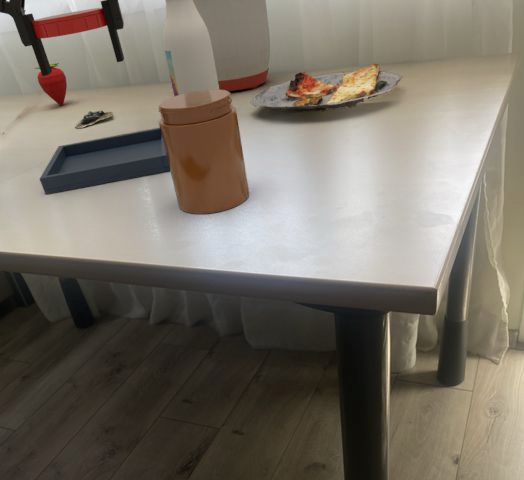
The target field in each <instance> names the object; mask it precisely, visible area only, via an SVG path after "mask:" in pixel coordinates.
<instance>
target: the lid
mask: <svg viewBox="0 0 524 480" xmlns="http://www.w3.org/2000/svg"><path fill="white" fill-rule="evenodd" d="M31 22H32V25H33V29H34V32H35V35H36V37H37V38H39V39H41V40H42V39H50V38H57V37H63V36H68V35H73V34H78V33H83V32H88V31H92V30H96V29H97V30H98V29H100V28H103V27H107V23H106V20H105V16H104V13H103V9H102V7H95V8H88V9H83V10H82V9H81V10H77V11H70V12H66V13H60V14H56V15H50V16H45V17H42V18H37V19H34V20H33V21H31Z"/></svg>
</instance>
